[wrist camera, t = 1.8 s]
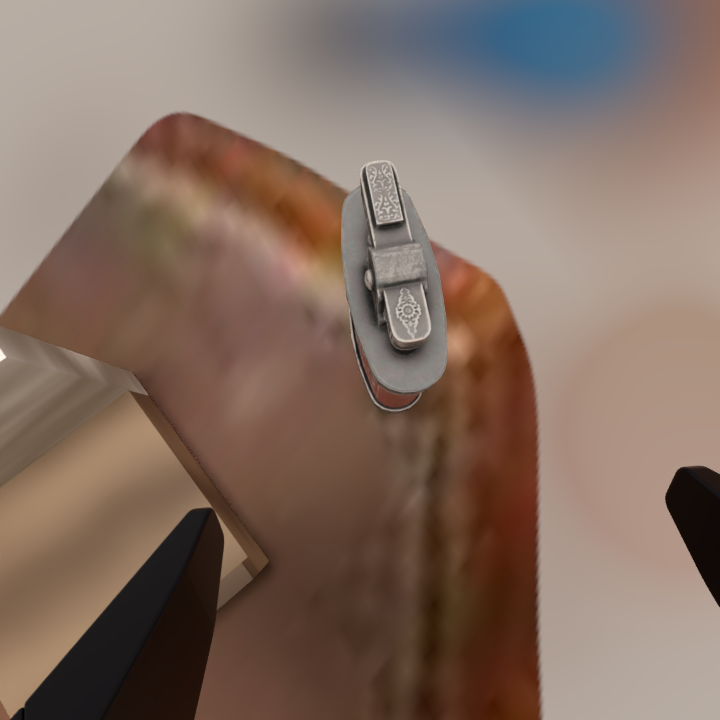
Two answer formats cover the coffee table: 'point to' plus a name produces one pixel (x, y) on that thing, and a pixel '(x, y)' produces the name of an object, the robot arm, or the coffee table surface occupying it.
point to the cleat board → (85, 502)
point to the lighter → (391, 291)
